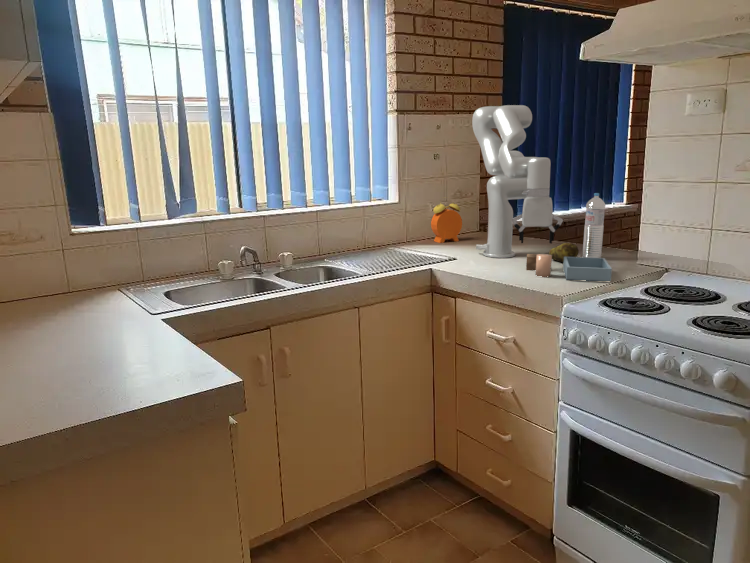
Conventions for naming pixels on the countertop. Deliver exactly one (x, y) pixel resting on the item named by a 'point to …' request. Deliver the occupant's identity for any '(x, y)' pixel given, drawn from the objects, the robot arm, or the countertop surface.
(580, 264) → the tote
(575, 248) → the potato
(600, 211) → the water bottle
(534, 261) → the cube
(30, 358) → the countertop surface
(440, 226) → the alarm clock
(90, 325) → the countertop surface
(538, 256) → the cylinder
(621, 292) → the countertop surface
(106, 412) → the countertop surface
